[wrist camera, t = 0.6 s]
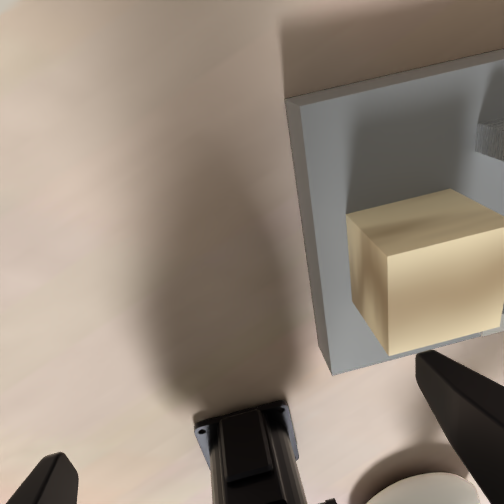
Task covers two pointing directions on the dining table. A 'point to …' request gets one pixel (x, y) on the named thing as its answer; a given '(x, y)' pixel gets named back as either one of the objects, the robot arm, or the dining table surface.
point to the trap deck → (386, 174)
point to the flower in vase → (429, 490)
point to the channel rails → (499, 147)
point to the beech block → (427, 269)
